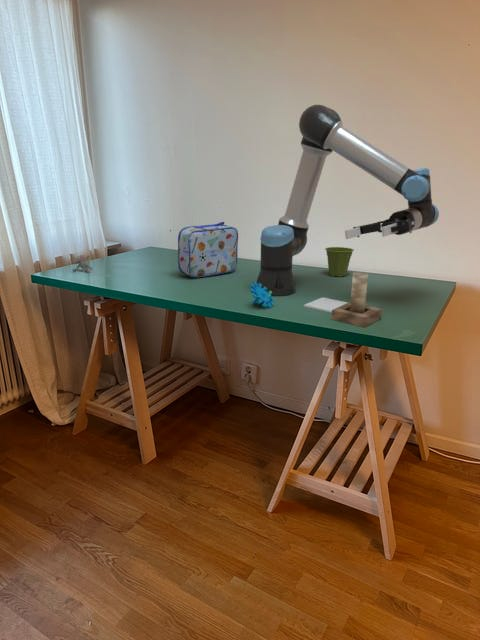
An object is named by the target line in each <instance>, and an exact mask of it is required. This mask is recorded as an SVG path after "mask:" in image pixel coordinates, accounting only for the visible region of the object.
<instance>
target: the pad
mask: <svg viewBox="0 0 480 640" xmlns="http://www.w3.org/2000/svg"><path fill="white" fill-rule="evenodd" d="M346 303H348V302H346V301H342V300H337V299H332V298H328V297H323V296H322V297H320V298H317V299H315V300H313V301H309V302H307V303H305V304H304V305H303V307H304V308H309V309H312V310H317V311H321V312H325V313H330V314H332V310H333V309H335V308H338V307H340V306H342V305H344V304H346Z"/></svg>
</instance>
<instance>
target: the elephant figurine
mask: <svg viewBox="0 0 480 640" xmlns="http://www.w3.org/2000/svg"><path fill="white" fill-rule="evenodd" d="M89 258H90V255H87V256H86V258H85V259H83V260H82V257H81V256H79V257H78V258H76V260H75V261H74V263H73V264H75V265H77V264H78V265H77V266H76V268H73V271H72V272H73V273H75V272H76V271H77V270H78V269H80V268H81V269H82V270H84V271H85V272H87V273H88V274H90V273H91V271H93V269H94V268H93V267H92V266H90V265H89V264H88V263H87V262H86V261H87V260H88V259H89Z"/></svg>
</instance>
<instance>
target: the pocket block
mask: <svg viewBox="0 0 480 640" xmlns="http://www.w3.org/2000/svg"><path fill="white" fill-rule="evenodd" d="M382 312H383V309H382V308H379V307H374V306H371V305H365V312H364V313H362V314H360V313H356V312H351V311H350V301H349V302H347V303H346V304H344V305H342V306H340V307H338V308H335V309H333V310H332V313H331V318H330V319H331V320H333V321H337V322H340V323H345V324H350V325H353V326H356V327H357V326H358V327H362V328H367V327H369V326H370V325H372V324H374V323H375V322H377V321H379V320H381V319H382V315H383V314H382Z"/></svg>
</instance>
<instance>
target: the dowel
mask: <svg viewBox="0 0 480 640" xmlns="http://www.w3.org/2000/svg"><path fill="white" fill-rule="evenodd" d="M368 279H369V274H368V273H366V272H353V273H352V281H351V292H350V301H349V302H350V311H351V312H356V313H360V314H362V313H364V312H365V306H366V301H367V289H368V281H369V280H368Z"/></svg>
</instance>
